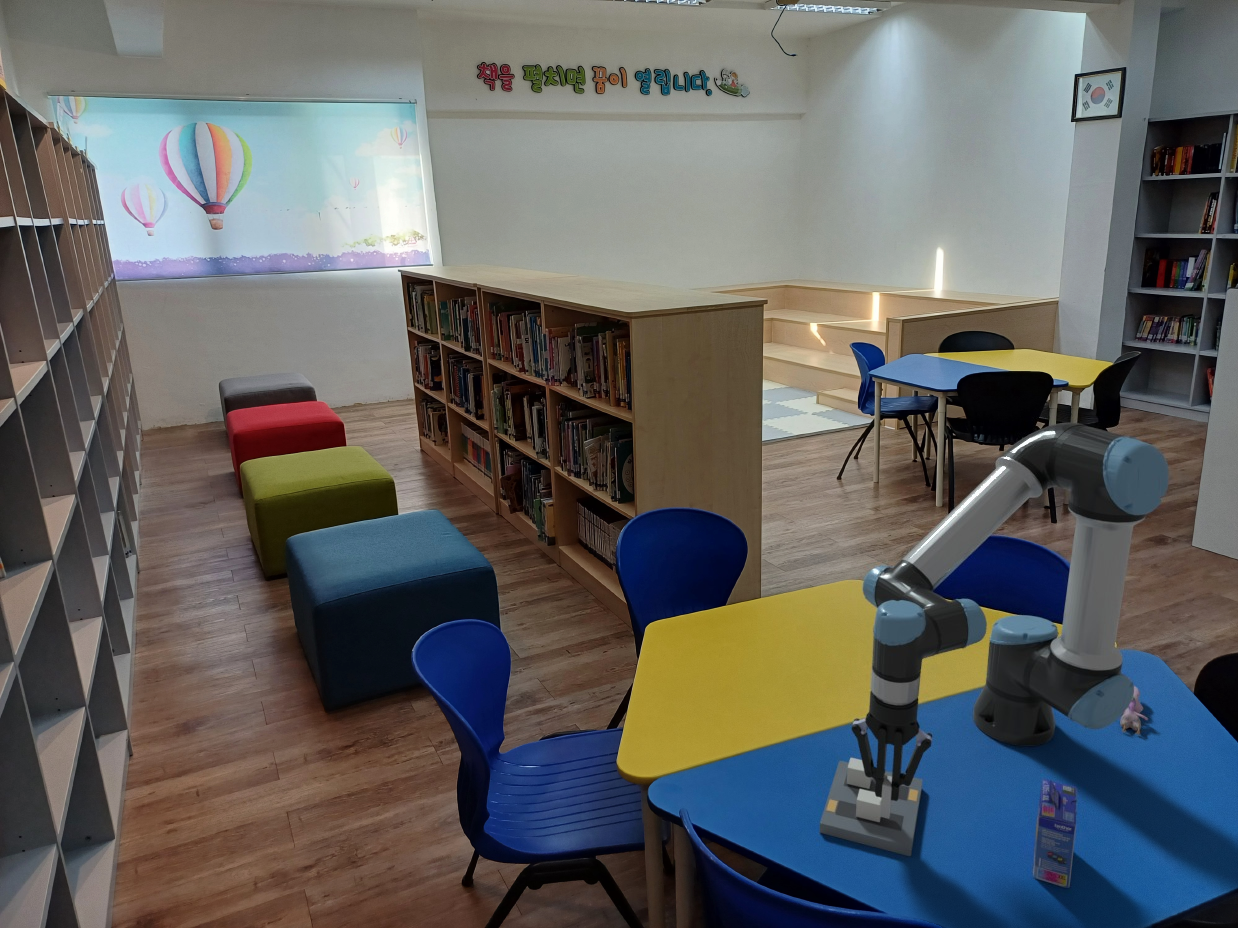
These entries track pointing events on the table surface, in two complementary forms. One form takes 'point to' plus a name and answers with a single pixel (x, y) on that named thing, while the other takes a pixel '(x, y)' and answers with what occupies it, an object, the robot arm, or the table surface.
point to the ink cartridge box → (1055, 833)
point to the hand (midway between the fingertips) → (885, 812)
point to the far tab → (857, 774)
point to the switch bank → (882, 834)
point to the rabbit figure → (1133, 714)
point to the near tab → (868, 805)
